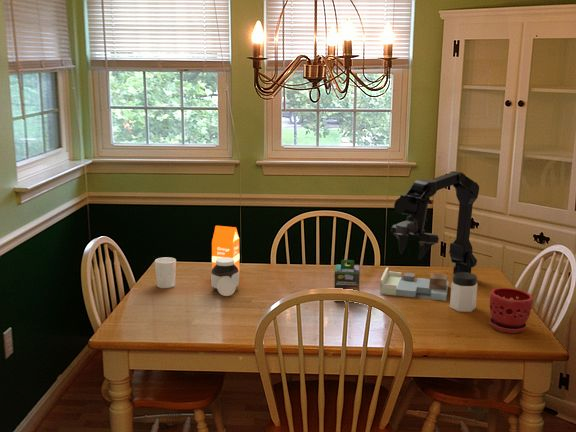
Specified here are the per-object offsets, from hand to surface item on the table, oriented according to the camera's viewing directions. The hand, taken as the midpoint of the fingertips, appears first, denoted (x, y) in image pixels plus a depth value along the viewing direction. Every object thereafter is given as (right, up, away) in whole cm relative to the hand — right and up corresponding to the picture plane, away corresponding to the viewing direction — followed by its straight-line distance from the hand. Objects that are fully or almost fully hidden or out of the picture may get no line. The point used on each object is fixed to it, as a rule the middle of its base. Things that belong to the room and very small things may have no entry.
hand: (410, 256), depth 249 cm
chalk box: (-24, -15, -2) cm, 28 cm away
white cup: (-91, -12, +8) cm, 92 cm away
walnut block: (+11, -11, +4) cm, 16 cm away
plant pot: (+27, -22, -27) cm, 44 cm away
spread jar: (-68, -13, +3) cm, 69 cm away
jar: (+17, -18, -10) cm, 26 cm away
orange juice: (-70, -9, +21) cm, 73 cm away
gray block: (+2, -12, +13) cm, 17 cm away
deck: (+3, -13, +7) cm, 15 cm away
